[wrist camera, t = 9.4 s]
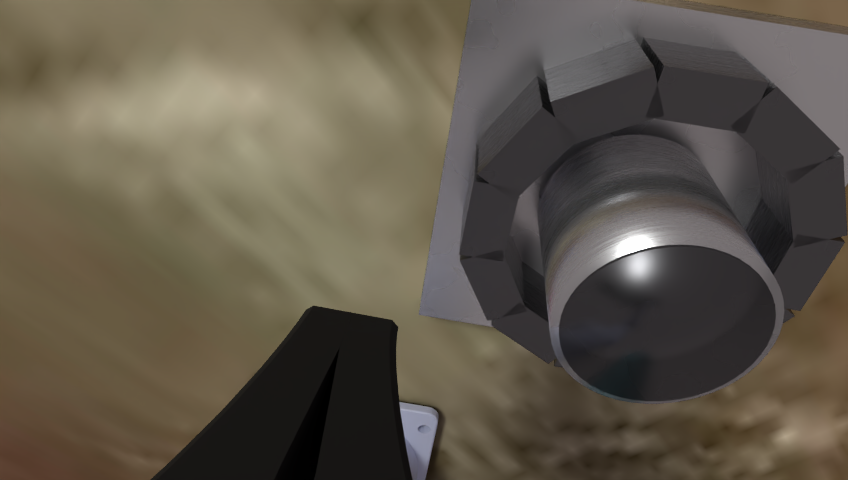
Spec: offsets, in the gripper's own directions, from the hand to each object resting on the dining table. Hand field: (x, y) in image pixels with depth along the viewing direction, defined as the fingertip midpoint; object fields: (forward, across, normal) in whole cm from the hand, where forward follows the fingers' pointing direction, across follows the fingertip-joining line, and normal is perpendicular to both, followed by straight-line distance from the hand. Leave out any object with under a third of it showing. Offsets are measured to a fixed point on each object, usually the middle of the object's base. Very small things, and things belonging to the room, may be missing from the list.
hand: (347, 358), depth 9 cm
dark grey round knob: (+9, -6, +1) cm, 11 cm away
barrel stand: (+10, -7, +1) cm, 12 cm away
